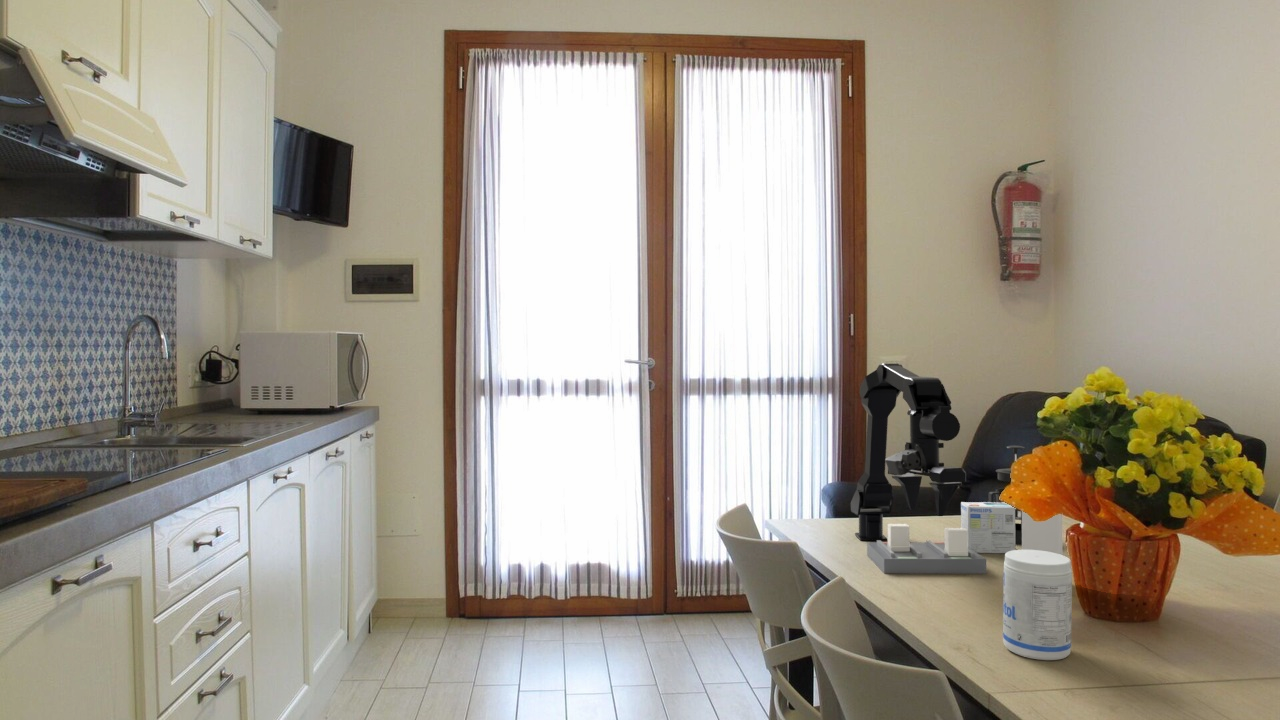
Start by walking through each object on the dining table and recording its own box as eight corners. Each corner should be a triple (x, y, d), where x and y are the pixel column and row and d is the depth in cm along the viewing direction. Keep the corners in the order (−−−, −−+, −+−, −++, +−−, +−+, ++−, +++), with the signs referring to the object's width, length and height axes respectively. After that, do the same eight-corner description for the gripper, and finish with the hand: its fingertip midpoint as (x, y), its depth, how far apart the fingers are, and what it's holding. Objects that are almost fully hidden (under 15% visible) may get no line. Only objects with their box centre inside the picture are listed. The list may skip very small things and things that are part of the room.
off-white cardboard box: (1061, 581, 167) (1061, 486, 166) (1062, 590, 160) (1062, 492, 160) (1022, 577, 170) (1021, 484, 169) (1021, 586, 163) (1021, 490, 163)
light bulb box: (1006, 547, 196) (1006, 501, 196) (1016, 554, 189) (1016, 506, 189) (959, 546, 197) (959, 501, 197) (968, 553, 190) (968, 506, 190)
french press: (1027, 535, 208) (1027, 443, 207) (1047, 544, 198) (1047, 447, 198) (981, 536, 207) (981, 444, 207) (999, 545, 198) (999, 448, 197)
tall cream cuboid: (944, 552, 178) (944, 527, 178) (963, 552, 178) (963, 527, 178) (948, 556, 175) (948, 530, 175) (968, 556, 175) (968, 530, 175)
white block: (887, 548, 182) (887, 523, 182) (905, 548, 182) (905, 523, 182) (891, 551, 179) (891, 526, 179) (909, 551, 179) (909, 526, 179)
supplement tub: (992, 640, 133) (992, 548, 133) (1051, 639, 134) (1051, 548, 133) (1021, 663, 124) (1021, 564, 123) (1084, 662, 124) (1084, 563, 124)
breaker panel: (867, 555, 188) (867, 538, 188) (961, 555, 188) (961, 538, 188) (884, 573, 173) (884, 555, 173) (986, 573, 173) (986, 555, 173)
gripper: (865, 436, 181) (867, 508, 180) (919, 441, 163) (921, 522, 162) (909, 435, 184) (911, 505, 184) (967, 440, 166) (968, 518, 166)
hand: (926, 512), depth 174 cm, fingers open, 9 cm apart
